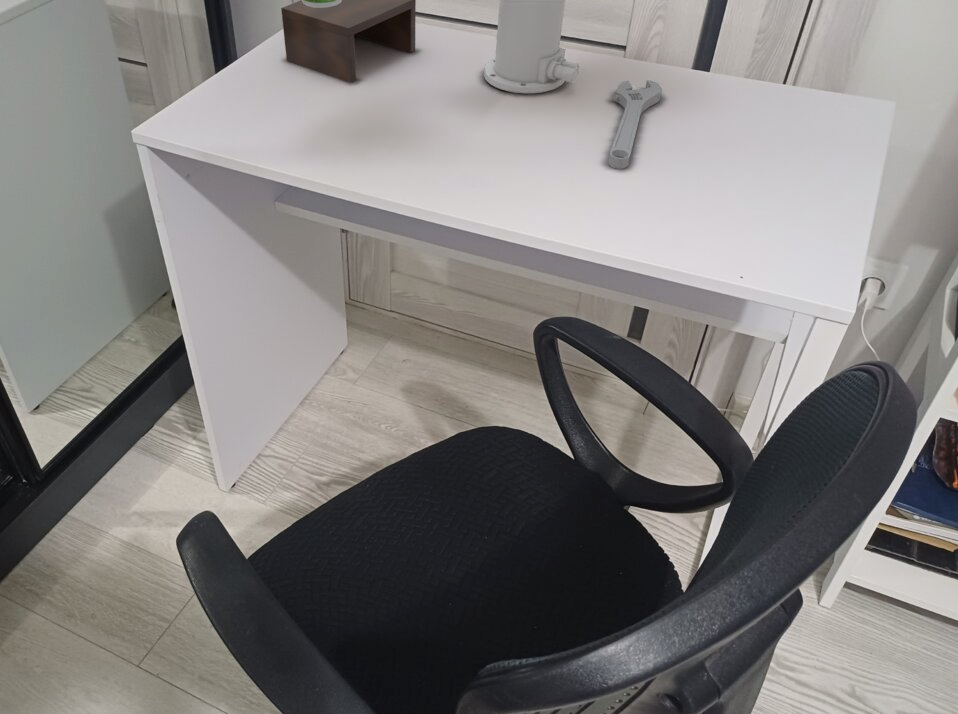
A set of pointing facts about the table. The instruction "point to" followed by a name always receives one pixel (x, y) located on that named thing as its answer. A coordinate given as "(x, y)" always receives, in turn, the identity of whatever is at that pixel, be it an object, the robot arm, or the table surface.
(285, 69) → the table surface
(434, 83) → the table surface
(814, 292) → the table surface
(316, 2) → the supplement bottle
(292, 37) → the shelf
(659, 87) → the adjustable wrench
